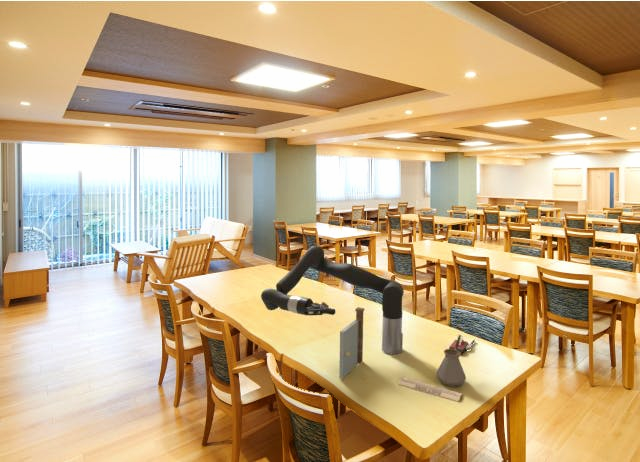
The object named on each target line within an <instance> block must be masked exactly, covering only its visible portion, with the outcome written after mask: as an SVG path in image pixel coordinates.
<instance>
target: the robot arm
mask: <svg viewBox="0 0 640 462" xmlns="http://www.w3.org/2000/svg"><path fill="white" fill-rule="evenodd" d="M309 269H312V270H314V271H318V272H321V273H324V274H327V275H329V276H332V277H334V278H335V279H338V280H341V281H343V282H344V283H347V284H350V285H352V286H353V287H354V286H355V287H358V288H362V289H369V290H372V291H375V292H378V293H380V294H381V295H382V297H381V302H382V303H381V305H382V306H381V310H382V327H381V328H382V331H381V333H382V335H381V336H382V337H381V351H382V352H383V353H386V354H389V355H398V354H401V353H402V354H403V344H404V341H403V339H404V334H403V296H404V293H405V291H404V287H403V286H402V285H401V283H399V282H398V281H394V280H391V279H387V278H384V277H381V276H379V275H376V274H374V273H372V272H370V271H368V270H365V269H364V268H361V267H359V266H357V265H355V264H352V263H347V262H344V263H343V262H342V263H341V262H333V261H332V260H329V259H327V258H325V251H324V248H322V247H321V246H319V245H313V246H310V247H309V248H308V249H307V250H306V252H305V253H304V255H302V257H301V258H300V259H299V260H298V261H297V263H296V264H295V265H294V266H293V267H292V268H291V270H289V271H288V273H287V274H285V275H284V276H283V277H282V278H281V279H280V280H278V282H277V283H276V285H275V288H276V289H274V288H266V289H264V290H263V291H262V292H261V294H260V298H261V300H262V302H263V304H264V305H265V307H266V309H267V310H268V311H274V310H277V309H278V308H279V309H280V310H283V311H287V312H291V313H294V314H299V315H302V316H308V317H309V316H311V317H312V316H323V315H331V316H333V315H335V314H336V309H335V308H331V307H329V304H327V303H326V302H323V301H322V302H321V303H318V302H314V301H313V299H312V298H309V297H304V296H297V295H290V294H289V293H290V292H291V291H292V290H293V289H294V288H295V287H296V286H297V285H298V284H299V282H300V281H301V279H302V278H303V277H304V275H305V273H306V272H308V270H309Z"/></svg>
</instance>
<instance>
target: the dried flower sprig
mask: <svg viewBox="0 0 640 462" xmlns="http://www.w3.org/2000/svg"><path fill="white" fill-rule="evenodd" d="M457 340H458V339H454V341H453V342H452V343H451V344H450V346H448V349H454V350H455V345H456V342H457ZM464 340H465V339H464V338H462V339H460V341H459V345H458V348H457V351H459V352H460V353H461V355H460V356H463V355H464V354H465V352H466V351H467V350H470V349H471V348H472V347H473V348H474V344H475V342H476V340H475V339H473V340H471V342H470V343H469V342H468V341H466V340H465V341H464ZM473 343H474V344H473ZM473 348H472V349H473ZM472 349H471V350H472Z"/></svg>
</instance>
